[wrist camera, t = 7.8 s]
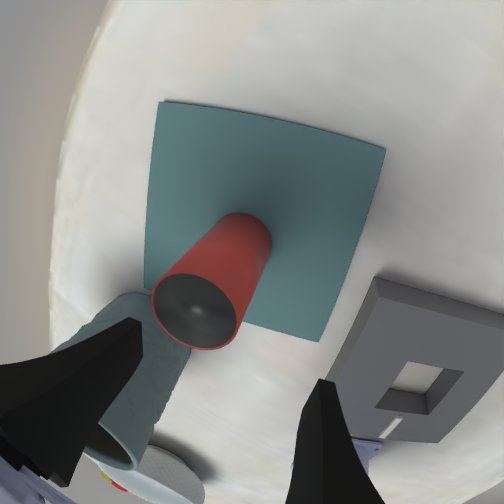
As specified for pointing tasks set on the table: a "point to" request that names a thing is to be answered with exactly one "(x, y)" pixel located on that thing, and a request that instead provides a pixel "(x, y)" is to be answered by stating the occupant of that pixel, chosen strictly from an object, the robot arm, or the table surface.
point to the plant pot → (134, 384)
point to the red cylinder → (213, 283)
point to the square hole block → (419, 351)
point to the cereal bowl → (159, 479)
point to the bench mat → (262, 204)
